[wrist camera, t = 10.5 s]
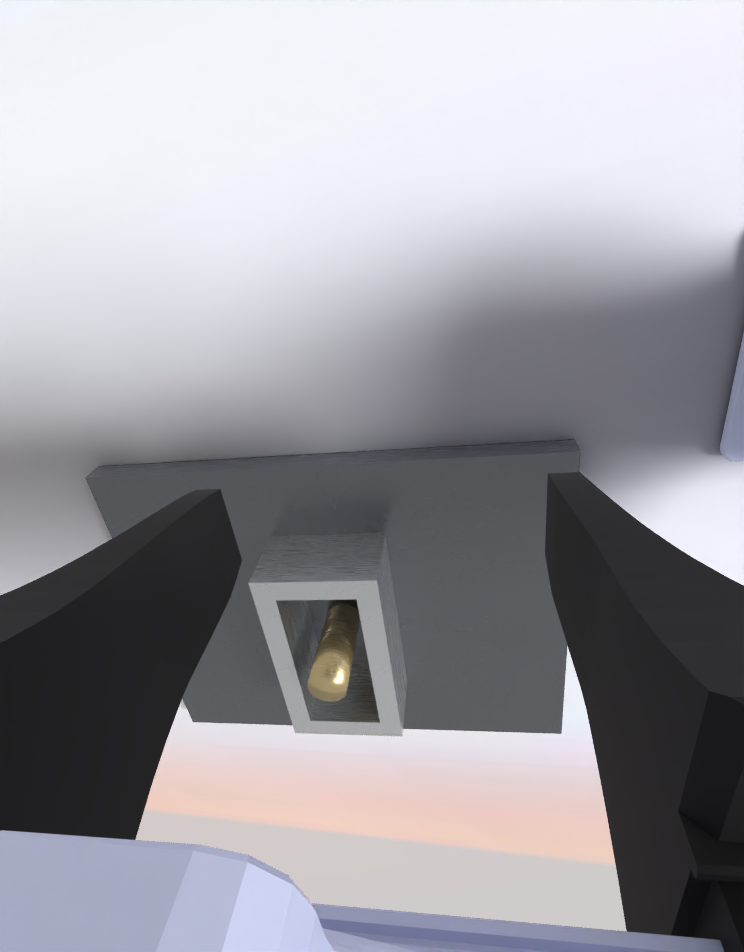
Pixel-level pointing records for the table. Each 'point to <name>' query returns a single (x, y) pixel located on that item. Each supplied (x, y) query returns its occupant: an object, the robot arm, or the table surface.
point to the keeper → (412, 568)
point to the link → (294, 641)
